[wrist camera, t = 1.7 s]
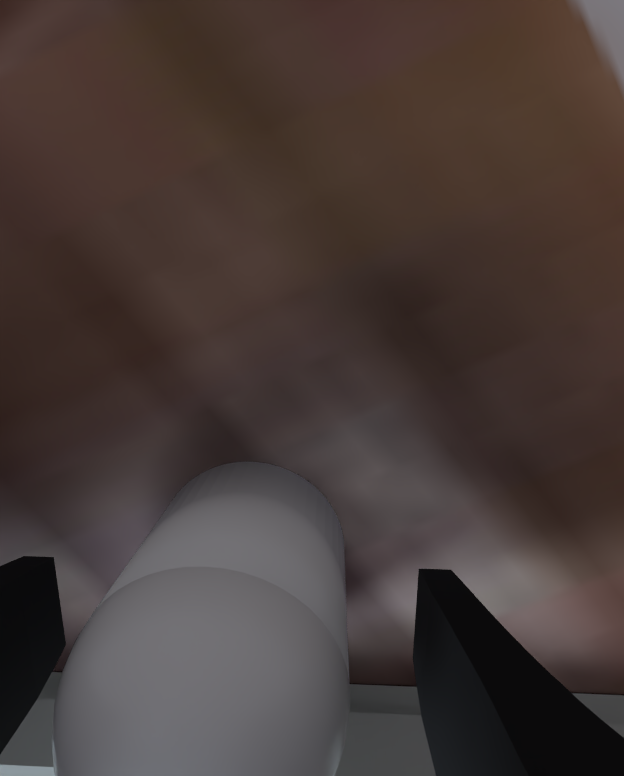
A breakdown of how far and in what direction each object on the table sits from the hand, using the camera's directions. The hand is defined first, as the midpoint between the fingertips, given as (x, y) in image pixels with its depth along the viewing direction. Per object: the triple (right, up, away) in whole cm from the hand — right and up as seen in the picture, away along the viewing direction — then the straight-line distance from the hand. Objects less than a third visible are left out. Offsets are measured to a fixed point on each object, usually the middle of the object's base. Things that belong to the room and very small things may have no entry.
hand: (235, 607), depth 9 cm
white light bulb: (0, +1, +2) cm, 2 cm away
